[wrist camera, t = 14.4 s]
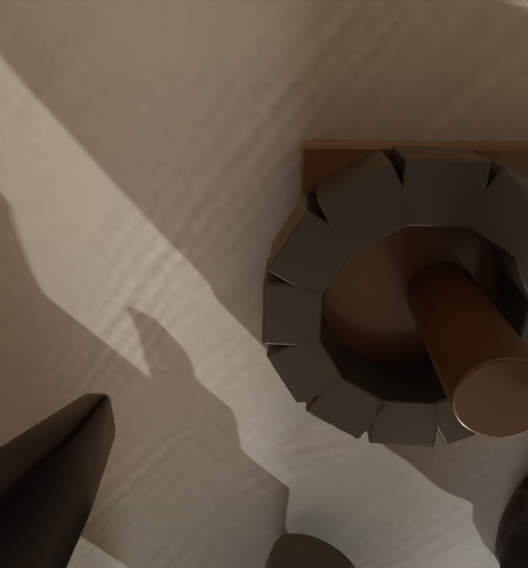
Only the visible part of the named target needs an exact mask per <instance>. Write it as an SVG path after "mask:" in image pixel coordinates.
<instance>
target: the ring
mask: <svg viewBox="0 0 528 568" xmlns="http://www.w3.org/2000/svg"><path fill="white" fill-rule="evenodd" d="M316 190H317V197H315V196H314V195H312V194H310V193H309V192H306V193H305V194H304V195H303V197H302V198H301V200H300V201H299V203H298V204H297V206H296V208H295V209H294V211H293V212H292V214H291V215H290V217H289V218H288V220H287V222H286V223H285V225H284V226H283V228H282V229H281V231H280V232H279V234H278V236H277V237H276V239H275V240H274V242H273V243H272V249H271V254H270V257H269V258H268V261H267V266H266V271H265V276H264V281H263V327H262V341H263V343H264V344H268V348H267V357H268V358H269V360H270V362H271V363H272V365H273V366H274V368H275V369H276V371H277V372H278V374H279V376H280V377H281V379H282V380H283V382H284V383H285V385H286V387H287V388H288V390H289V391H290V393H291V394H292V396H293V397H294V399H295V401H296V402H297V403H300V402H302V401H305V400H306V411H307V412H309V413H310V414H312V415H314V416H316V417H318V418H320V419H322V420H324V421H325V422H327V423H329V424H331V425H333V426H335V427H337V428H339V429H340V430H342V431H344V432H346V433H348V434H350V435H352V436H354V437H355V438H360V437H361V435H362V434H363V433H364V432H365V431H366V430H367V432H368V438H369V442H370V443H381V444H397V445H413V446H429V447H433V446H434V442H435V437H436V432H437V430H438V432H439V434H440V436H441V438H442V440H443V442H444V443H446V444H449V443H452V442H455V441H458V440H461V439H464V438H466V437H469V436H472V435H475V434H477V433H474V432H472V431H470V430H469V429H467V428H466V427H464V426H463V425H462V424H461V423H460V422H459V421H458V420H457V418H456V417H455V415H454V412H453V410H452V408H451V405H450V403H449V401H448V398H447V396H446V394H445V391H444V389H443V387H442V384H441V382H440V380H439V377H438V375H437V373H436V370H435V368H434V365H433V363H432V361H431V360H430V361H427V362H425V363H422V364H402V363H383V362H373V361H371V360H369V359H367V358H366V357H364V356H362V355H360V354H359V353H357V352H355V351H353V350H352V349H350V348H348V347H346V346H344V345H343V344H341V343H339V342H338V340H337V338H336V336H335V335H334V333H333V331H332V329H331V328H330V326H329V324H328V322H327V321H326V319H325V317H324V315H323V301H324V292H325V291H326V289H327V288H328V287H329V285H330V284H331V283H332V281H333V280H334V279H335V277H336V276H337V274H338V273H339V272H340V270H341V269H342V268H343V266H344V265H345V264H346V262H347V261H348V259H349V258H350V257H351V255H352V254H353V253H354V251H356V250H358V249H360V248H362V247H364V246H367V245H369V244H371V243H373V242H375V241H377V240H379V239H381V238H383V237H386V236H388V235H390V234H392V233H394V232H396V231H398V230H400V229H402V228H404V227H407V226H431V227H461V228H468V229H470V230H471V231H473V232H474V233H476V234H478V235H479V236H481V237H482V238H484V239H485V240H487V241H488V242H490V244H491V247H492V249H493V252H494V254H495V257H496V259H497V262H498V264H499V266H500V269H501V271H502V277H501V281H500V286H499V290H498V294H497V298H496V303H495V306H496V308H497V309H498V310H499V311H500V313H501V314H502V315H503V316H504V318H505V319H506V320H507V322H508V323H509V324H510V325H511V327H512V328H513V329H514V330H515V332H516V333H517V334H518V335H519V337H520V338H521V339H522V341H523V342H524V343H525V344H526V346H527V347H528V179H527V178H525V177H524V176H522V175H521V174H519V173H518V172H516V171H515V170H514V169H512V168H511V167H509V166H507V165H505V164H503V163H501V162H499V161H497V160H495V159H493V158H491V157H489V156H487V155H485V154H483V153H481V152H478V153H475V152H473V151H471V150H469V149H467V148H465V147H447V146H401V145H394V146H393V147H392V151H391V160H389V159H388V158H387V157H386V156H385V155H384V154H383V153H382V151H381V150H380V149H377V150H375V151H374V152H372V153H370V154H368V155H366V156H364V157H362V158H360V159H358V160H357V161H355V162H353V163H351V164H349V165H347V166H345V167H343V168H341V169H340V170H338V171H336V172H334V173H332V174H330V175H328V176H326V177H325V178H323V179H321V180H319V181H317V182H316Z"/></svg>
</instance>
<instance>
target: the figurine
mask: <svg viewBox="0 0 528 568" xmlns="http://www.w3.org/2000/svg"><path fill="white" fill-rule="evenodd" d="M495 556H496V558H497V560H498V562H499V564H500V568H528V479H527V480H526V481H525V482H524V483H523V484H522V485H521V486H520V487H519V489H518V490H517V492H516V493H515V495H514V496H513V497H512V499H511V501H510V503H509V505H508V507H507V509H506V511H505V514H504V516H503V518H502V520H501V523H500V525H499V529H498V534H497V539H496V548H495Z"/></svg>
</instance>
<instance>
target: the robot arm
mask: <svg viewBox="0 0 528 568" xmlns="http://www.w3.org/2000/svg"><path fill="white" fill-rule="evenodd" d="M114 436H115V424H114V418H113V412H112V406H111V400H110V398H109V396H108V395H107V394H101V393H87V394H85V395H83V396H81V397H80V398H78V399H77V400H75V401H73V402H72V403H70V404H69V405H67V406H65V407H64V408H62V409H61V410H59V411H57V412H56V413H54V414H53V415H51V416H49V417H48V418H46V419H45V420H43V421H41V422H40V423H38V424H37V425H35V426H33V427H32V428H30V429H29V430H27V431H25V432H24V433H22V434H21V435H19V436H17V437H16V438H14V439H13V440H11V441H9V442H8V443H6V444H4V445H3V446H1V447H0V568H66V567H67V565H68V562H69V560H70V558H71V556H72V553H73V551H74V549H75V546H76V544H77V542H78V540H79V537H80V535H81V533H82V531H83V528H84V526H85V524H86V521H87V519H88V516H89V514H90V512H91V509H92V506H93V503H94V500H95V497H96V494H97V491H98V487H99V484H100V481H101V478H102V475H103V472H104V469H105V466H106V462H107V459H108V456H109V453H110V450H111V447H112V444H113V440H114Z"/></svg>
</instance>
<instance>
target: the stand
mask: <svg viewBox="0 0 528 568" xmlns="http://www.w3.org/2000/svg"><path fill="white" fill-rule="evenodd" d="M394 145H401V146H447V147H465V148H467V149H469V150H471V151H473V152H475V153H478V152H481V153H483V154H485V155H487V156H489V157H491V158H493V159H495V160H497V161H499V162H501V163H503V164H505V165H507V166H509V167H511V168H512V169H514V170H515V171H516V172H518V173H519V174H521V175H522V176H524V177H525V178H527V179H528V142H486V141H346V140H304V141H303V142H302V157H301V193H300V200H301V198H302V197H303V195H304V194H305V193H306V192H309V193H310V194H312V195H314V196H315V197H317V190H316V182H317V181H319V180H321V179H323V178H325V177H326V176H328V175H330V174H332V173H334V172H336V171H338V170H340V169H341V168H343V167H345V166H347V165H349V164H351V163H353V162H355V161H357V160H358V159H360V158H362V157H364V156H366V155H368V154H370V153H372V152H374V151H375V150H377V149H380V150H381V151H382V153H383V154H384V155H385V156H386V157H387V158H388V159H389V160H391V151H392V147H393V146H394ZM501 277H502V271H501V269H500V266H499V264H498V262H497V259H496V257H495V254H494V252H493V249H492V247H491V244H490V242H488V241H487V240H485V239H484V238H482V237H481V236H479V235H478V234H476V233H474V232H473V231H471V230H470V229H468V228H461V227H431V226H407V227H404V228H402V229H400V230H398V231H396V232H394V233H392V234H390V235H388V236H386V237H383V238H381V239H379V240H377V241H375V242H373V243H371V244H369V245H367V246H364V247H362V248H360V249H358V250H356V251H354V253H353V254H352V255H351V257H350V258H349V259H348V261H347V262H346V264H345V265H344V266H343V268H342V269H341V270H340V272H339V273H338V274H337V276H336V277H335V279H334V280H333V281H332V283H331V284H330V285H329V287H328V288H327V289H326V291H325V292H324V301H323V315H324V317H325V319H326V321H327V322H328V324H329V326H330V328H331V329H332V331H333V333H334V335H335V336H336V338H337V340H338V342H339V343H341V344H343V345H344V346H346V347H348V348H350V349H352V350H353V351H355V352H357V353H359V354H360V355H362V356H364V357H366V358H367V359H369V360H371V361H373V362H383V363H402V364H422V363H425V362H427V361H430V360H431V361H432V363H433V365H434V368H435V370H436V373H437V375H438V377H439V380H440V382H441V384H442V387H443V389H444V391H445V394H446V396H447V398H448V401H449V403H450V405H451V408H452V410H453V412H454V415H455V417H456V418H457V420H458V421H459V422H460V423H461V424H462V425H463V426H464V427H466V428H467V429H469V430H470V431H472V432H474V433H477V434H480V435H484V436H490V437H504V436H510V435H514V434H518V433H521V432H523V431H525V430H527V429H528V347H527V346H526V344H525V343H524V342H523V341H522V339H521V338H520V337H519V335H518V334H517V333H516V332H515V330H514V329H513V328H512V327H511V325H510V324H509V323H508V322H507V320H506V319H505V318H504V316H503V315H502V314H501V313H500V311H499V310H498V309H497V308H496V306H495V303H496V298H497V294H498V290H499V286H500V281H501ZM302 402H306V400H305V401H302Z"/></svg>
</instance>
